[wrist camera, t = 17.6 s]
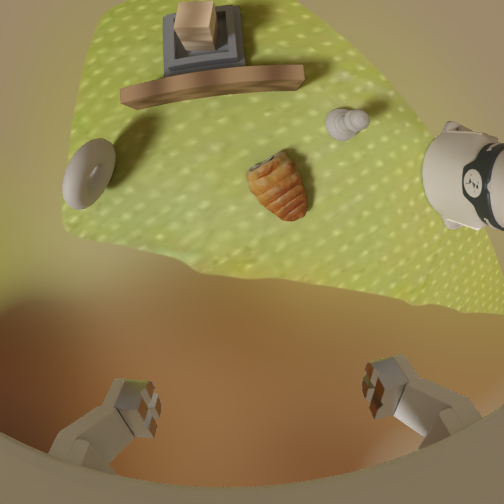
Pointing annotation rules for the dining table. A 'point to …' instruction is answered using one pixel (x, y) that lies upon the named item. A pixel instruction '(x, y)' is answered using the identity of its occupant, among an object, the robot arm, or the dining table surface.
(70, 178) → the donut
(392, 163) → the dining table surface
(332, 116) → the chess piece
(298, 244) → the dining table surface
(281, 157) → the pastry
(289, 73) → the door edge
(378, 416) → the robot arm
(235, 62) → the seat block
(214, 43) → the block
